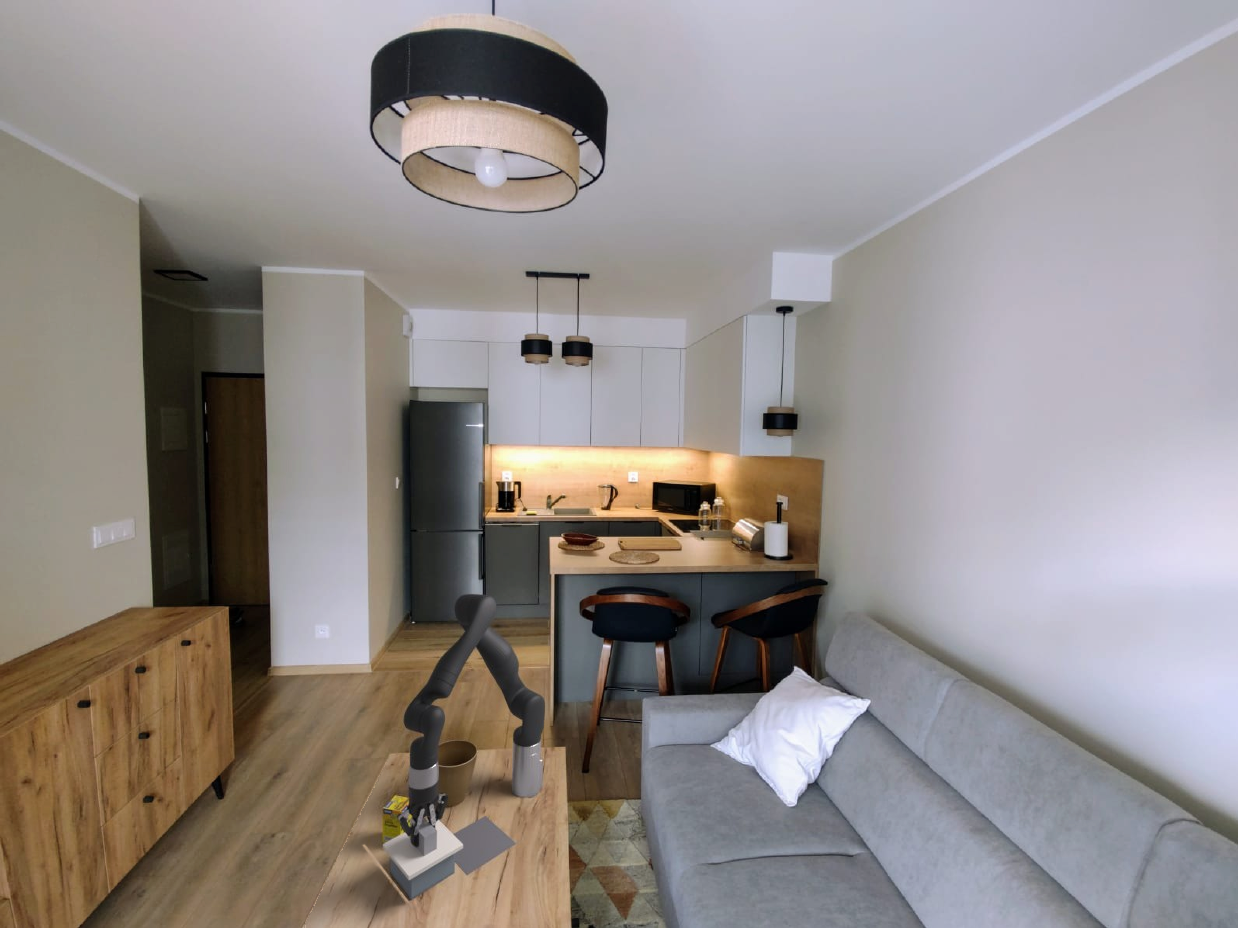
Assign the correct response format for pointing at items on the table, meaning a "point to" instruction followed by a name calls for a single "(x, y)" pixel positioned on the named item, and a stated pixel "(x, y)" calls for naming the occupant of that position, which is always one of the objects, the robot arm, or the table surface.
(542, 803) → the table surface
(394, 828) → the supplement box
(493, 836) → the mat
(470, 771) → the plant pot
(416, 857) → the lid
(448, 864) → the grey storage bin
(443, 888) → the table surface
